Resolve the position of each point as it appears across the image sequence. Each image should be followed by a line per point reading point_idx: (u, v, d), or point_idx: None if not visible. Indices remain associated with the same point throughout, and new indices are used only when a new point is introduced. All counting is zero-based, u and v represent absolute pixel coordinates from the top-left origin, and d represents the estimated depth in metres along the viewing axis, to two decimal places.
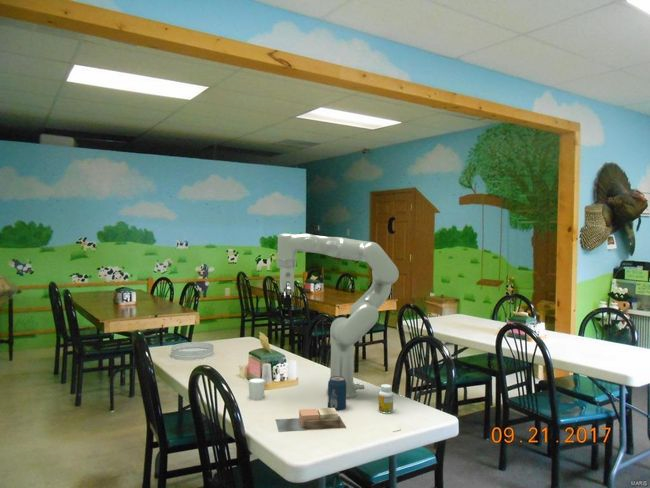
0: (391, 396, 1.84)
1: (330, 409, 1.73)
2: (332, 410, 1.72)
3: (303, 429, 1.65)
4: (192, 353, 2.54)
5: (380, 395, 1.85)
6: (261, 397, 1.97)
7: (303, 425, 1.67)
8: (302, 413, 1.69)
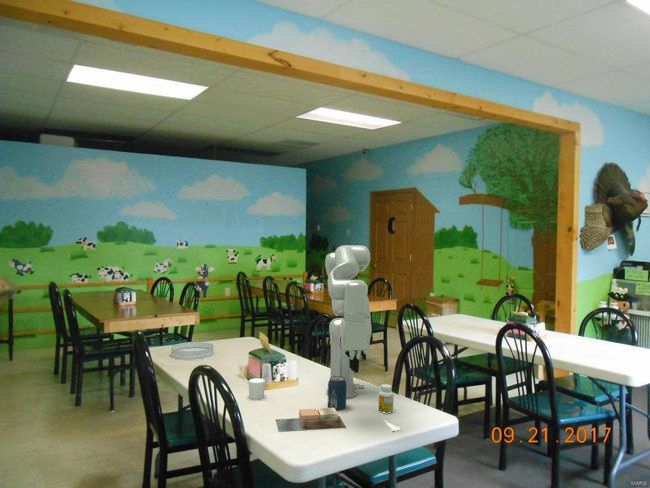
0: (391, 396, 1.84)
1: (330, 409, 1.73)
2: (332, 410, 1.72)
3: (303, 429, 1.65)
4: (192, 353, 2.54)
5: (380, 395, 1.85)
6: (261, 397, 1.97)
7: (303, 425, 1.67)
8: (302, 413, 1.69)
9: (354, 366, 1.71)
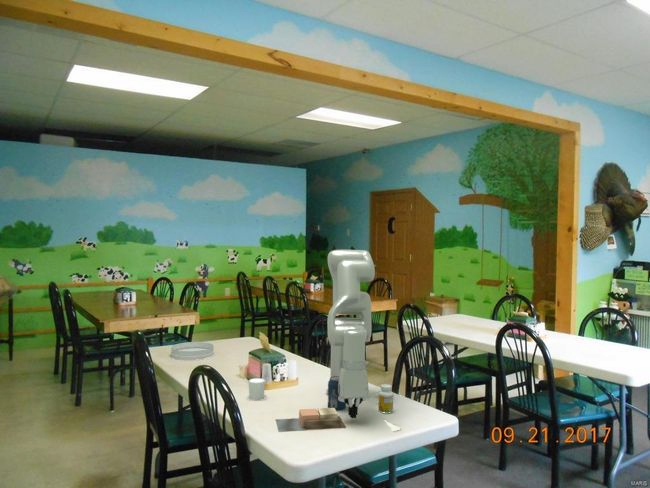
0: (391, 396, 1.84)
1: (330, 409, 1.73)
2: (332, 410, 1.72)
3: (303, 429, 1.65)
4: (192, 353, 2.54)
5: (380, 395, 1.85)
6: (261, 397, 1.97)
7: (303, 425, 1.67)
8: (302, 413, 1.69)
9: (353, 414, 1.71)
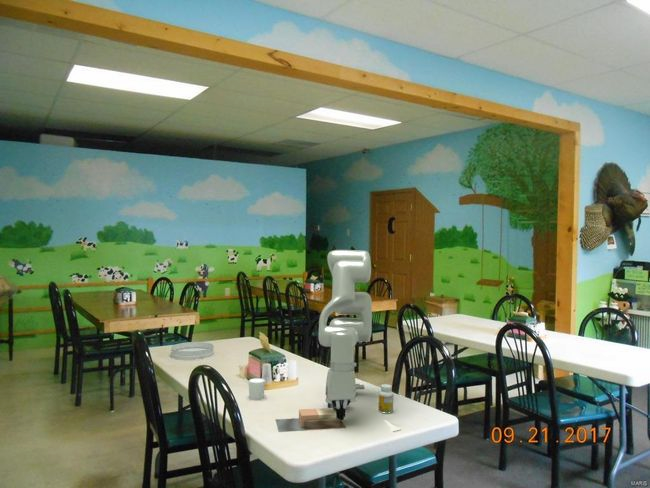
0: (391, 396, 1.84)
1: (328, 409, 1.73)
2: (331, 411, 1.72)
3: (303, 429, 1.65)
4: (192, 353, 2.54)
5: (380, 395, 1.85)
6: (261, 397, 1.97)
7: (303, 425, 1.67)
8: (302, 413, 1.69)
9: (340, 415, 1.71)
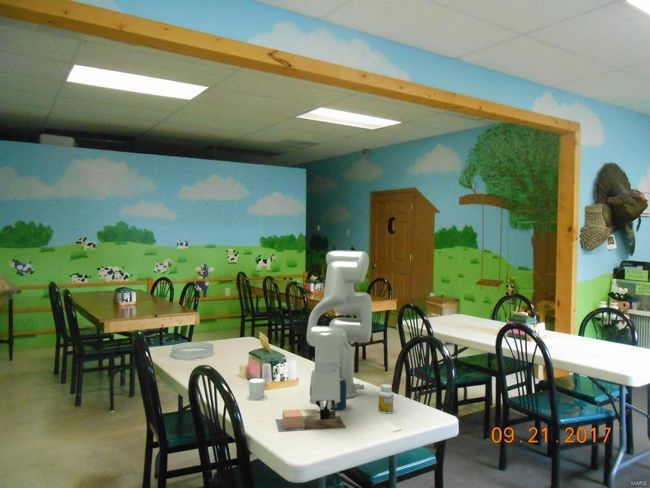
0: (391, 396, 1.84)
1: (313, 410, 1.72)
2: (315, 412, 1.70)
3: (303, 429, 1.65)
4: (192, 353, 2.54)
5: (380, 395, 1.85)
6: (261, 397, 1.97)
7: (286, 426, 1.65)
8: (285, 414, 1.67)
9: (325, 416, 1.69)
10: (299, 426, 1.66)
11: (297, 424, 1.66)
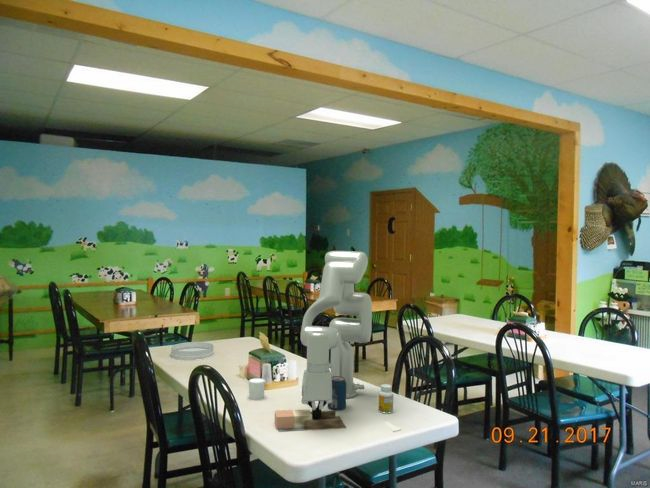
0: (391, 396, 1.84)
1: (305, 410, 1.71)
2: (307, 412, 1.70)
3: (303, 429, 1.65)
4: (192, 353, 2.54)
5: (380, 395, 1.85)
6: (261, 397, 1.97)
7: (278, 427, 1.65)
8: (277, 414, 1.67)
9: (316, 416, 1.69)
10: (291, 426, 1.66)
11: (289, 425, 1.66)
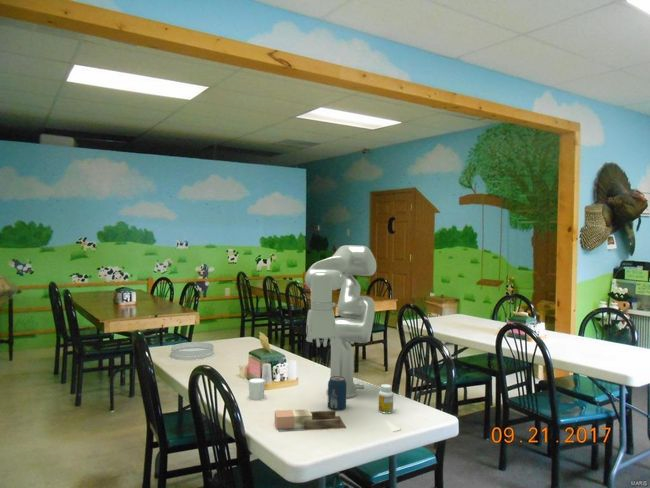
0: (391, 396, 1.84)
1: (305, 410, 1.71)
2: (307, 412, 1.70)
3: (303, 429, 1.65)
4: (192, 353, 2.54)
5: (380, 395, 1.85)
6: (261, 397, 1.97)
7: (278, 427, 1.65)
8: (277, 414, 1.67)
9: (321, 353, 1.76)
10: (291, 426, 1.66)
11: (289, 425, 1.66)
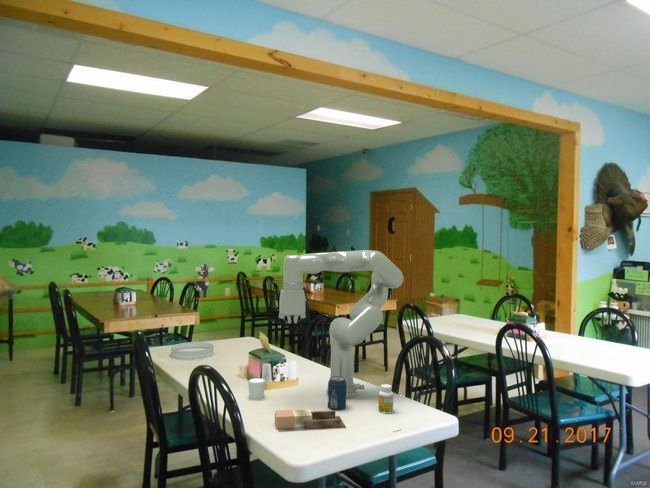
0: (391, 396, 1.84)
1: (305, 410, 1.71)
2: (307, 412, 1.70)
3: (303, 429, 1.65)
4: (192, 353, 2.54)
5: (380, 395, 1.85)
6: (261, 397, 1.97)
7: (278, 427, 1.65)
8: (277, 414, 1.67)
9: (292, 329, 1.93)
10: (291, 426, 1.66)
11: (289, 425, 1.66)
